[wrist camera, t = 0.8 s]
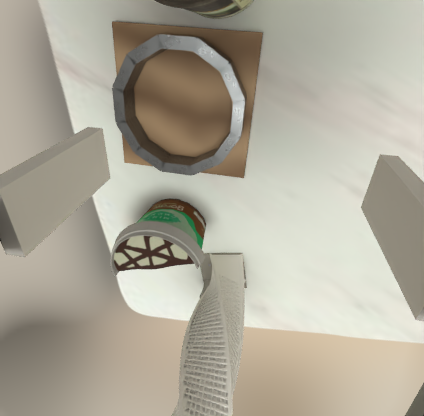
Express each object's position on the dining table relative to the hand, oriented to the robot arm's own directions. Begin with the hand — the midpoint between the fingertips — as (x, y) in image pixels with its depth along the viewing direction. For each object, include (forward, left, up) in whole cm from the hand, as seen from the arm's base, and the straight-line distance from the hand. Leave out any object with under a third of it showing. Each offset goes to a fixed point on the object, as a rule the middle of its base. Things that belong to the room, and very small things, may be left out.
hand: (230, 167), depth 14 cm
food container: (+17, -10, -22) cm, 30 cm away
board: (+2, -8, -22) cm, 24 cm away
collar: (+2, -8, -22) cm, 24 cm away
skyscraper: (+26, -1, -23) cm, 35 cm away
